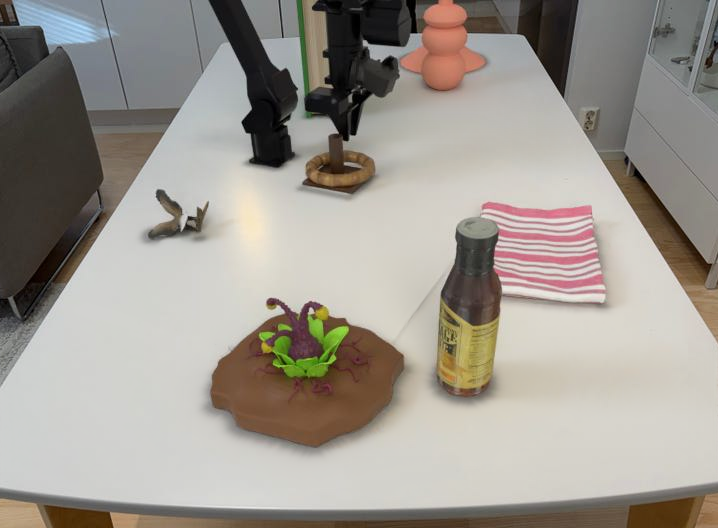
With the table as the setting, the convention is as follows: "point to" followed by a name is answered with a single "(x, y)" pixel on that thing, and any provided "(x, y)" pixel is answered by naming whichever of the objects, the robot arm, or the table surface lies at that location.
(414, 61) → the ceramic vessels
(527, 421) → the table surface
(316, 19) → the hardback book
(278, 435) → the plant
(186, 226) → the eagle figurine
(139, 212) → the table surface
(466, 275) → the sauce bottle
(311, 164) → the segmented tan ring
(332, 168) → the peg stand
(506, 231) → the dish towel
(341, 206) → the table surface
